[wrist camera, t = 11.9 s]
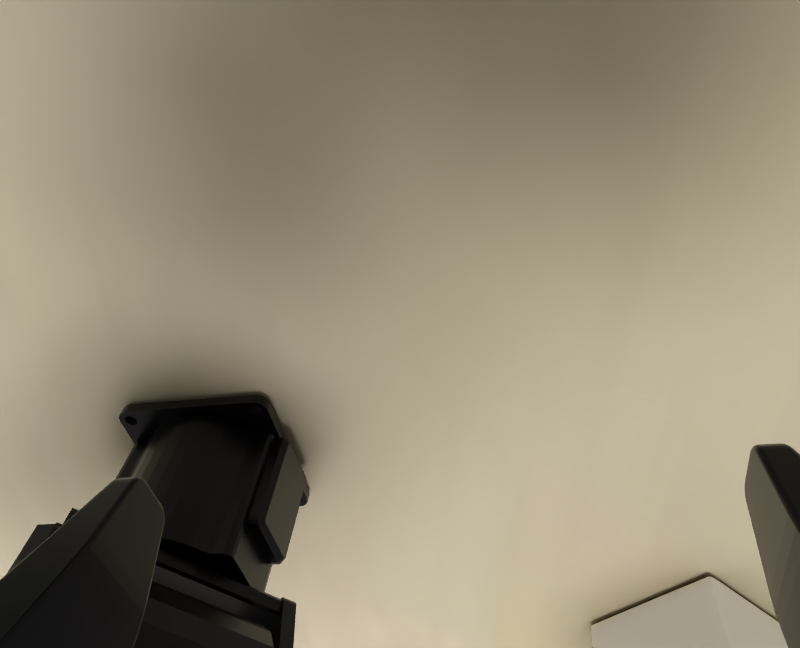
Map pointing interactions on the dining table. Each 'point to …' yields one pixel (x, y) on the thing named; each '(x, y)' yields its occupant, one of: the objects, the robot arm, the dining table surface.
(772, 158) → the dining table surface
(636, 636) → the milk carton
